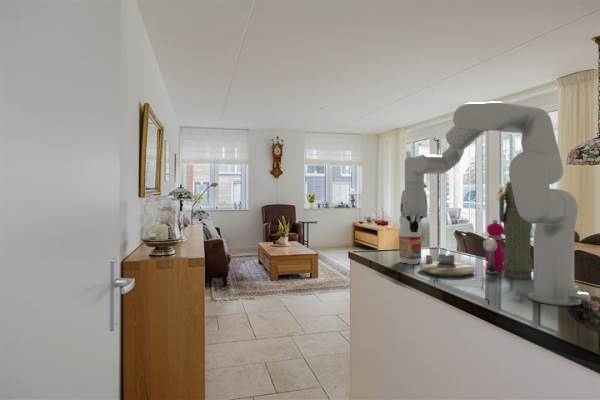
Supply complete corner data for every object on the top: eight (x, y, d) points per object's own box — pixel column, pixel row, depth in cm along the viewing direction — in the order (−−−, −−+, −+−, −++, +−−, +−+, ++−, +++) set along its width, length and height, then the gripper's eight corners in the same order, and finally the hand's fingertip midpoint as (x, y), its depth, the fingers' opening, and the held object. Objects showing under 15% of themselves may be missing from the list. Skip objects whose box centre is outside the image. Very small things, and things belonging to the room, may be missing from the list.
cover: (459, 266, 142) (459, 255, 141) (447, 268, 138) (447, 256, 138) (445, 264, 148) (445, 252, 147) (433, 265, 144) (433, 254, 144)
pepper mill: (508, 268, 149) (508, 219, 149) (499, 270, 145) (499, 220, 144) (491, 266, 155) (491, 218, 154) (481, 268, 151) (481, 219, 150)
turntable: (486, 271, 139) (486, 259, 139) (450, 277, 130) (450, 265, 129) (442, 262, 157) (442, 252, 157) (408, 267, 147) (408, 257, 147)
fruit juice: (402, 260, 170) (402, 199, 170) (423, 262, 165) (423, 199, 165) (396, 263, 162) (396, 200, 162) (418, 265, 157) (417, 200, 157)
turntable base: (478, 273, 140) (478, 271, 140) (449, 278, 132) (449, 276, 132) (443, 266, 154) (443, 264, 154) (415, 270, 146) (415, 268, 146)
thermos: (542, 279, 129) (542, 180, 129) (508, 280, 129) (508, 180, 129) (526, 274, 138) (526, 181, 138) (495, 274, 138) (494, 181, 138)
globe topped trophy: (500, 273, 139) (500, 238, 139) (494, 275, 137) (494, 239, 137) (488, 271, 144) (488, 237, 144) (482, 272, 142) (481, 237, 142)
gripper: (428, 187, 154) (428, 230, 154) (393, 187, 153) (393, 231, 154) (436, 187, 147) (435, 232, 147) (399, 187, 146) (399, 233, 146)
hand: (413, 231), depth 150 cm, fingers closed
